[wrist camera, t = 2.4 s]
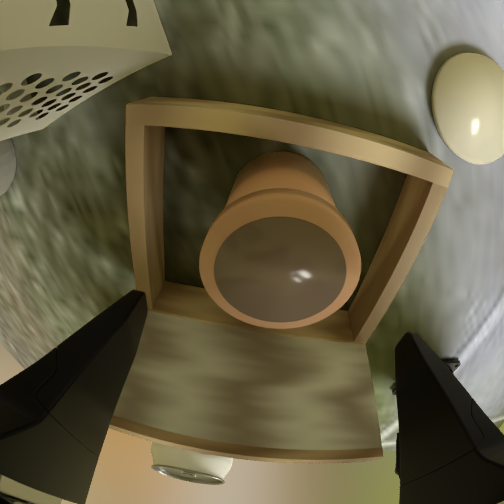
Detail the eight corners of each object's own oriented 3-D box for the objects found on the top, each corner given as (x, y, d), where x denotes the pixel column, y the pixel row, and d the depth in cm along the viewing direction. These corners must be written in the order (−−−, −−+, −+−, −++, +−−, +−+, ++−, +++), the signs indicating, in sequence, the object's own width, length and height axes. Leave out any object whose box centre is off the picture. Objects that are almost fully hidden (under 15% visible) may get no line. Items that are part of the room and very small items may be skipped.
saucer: (520, 85, 10) (526, 86, 9) (495, 174, 14) (500, 178, 13) (443, 32, 10) (448, 32, 9) (418, 139, 14) (422, 142, 13)
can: (177, 366, 28) (149, 472, 18) (179, 329, 25) (141, 458, 15) (238, 380, 29) (223, 488, 19) (252, 346, 25) (236, 479, 15)
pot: (346, 159, 15) (386, 222, 9) (318, 250, 19) (331, 338, 13) (234, 137, 15) (203, 187, 9) (222, 233, 19) (196, 318, 13)
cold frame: (429, 152, 14) (565, 281, 5) (354, 321, 22) (375, 460, 13) (151, 96, 14) (-24, 174, 4) (153, 288, 22) (96, 423, 12)
